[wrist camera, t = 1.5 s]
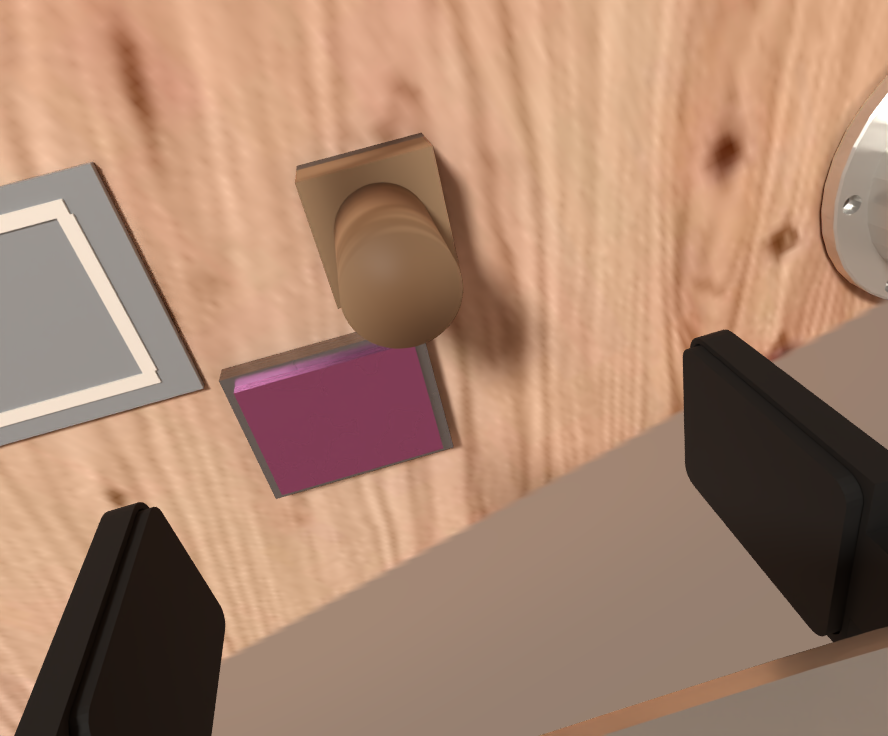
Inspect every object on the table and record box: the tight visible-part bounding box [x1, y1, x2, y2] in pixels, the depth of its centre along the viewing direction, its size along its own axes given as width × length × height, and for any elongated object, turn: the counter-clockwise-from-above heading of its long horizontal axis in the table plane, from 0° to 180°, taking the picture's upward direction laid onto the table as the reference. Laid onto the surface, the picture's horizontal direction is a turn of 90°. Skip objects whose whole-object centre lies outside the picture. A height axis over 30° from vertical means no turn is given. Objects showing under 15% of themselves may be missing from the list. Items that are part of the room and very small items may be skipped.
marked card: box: [0, 162, 204, 446], centre depth 25 cm, size 11×10×1 cm
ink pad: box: [219, 332, 453, 499], centre depth 29 cm, size 9×7×2 cm
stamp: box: [295, 133, 463, 349], centre depth 22 cm, size 5×5×9 cm
